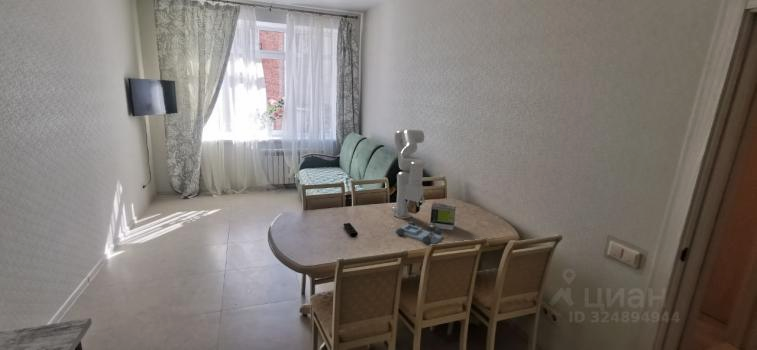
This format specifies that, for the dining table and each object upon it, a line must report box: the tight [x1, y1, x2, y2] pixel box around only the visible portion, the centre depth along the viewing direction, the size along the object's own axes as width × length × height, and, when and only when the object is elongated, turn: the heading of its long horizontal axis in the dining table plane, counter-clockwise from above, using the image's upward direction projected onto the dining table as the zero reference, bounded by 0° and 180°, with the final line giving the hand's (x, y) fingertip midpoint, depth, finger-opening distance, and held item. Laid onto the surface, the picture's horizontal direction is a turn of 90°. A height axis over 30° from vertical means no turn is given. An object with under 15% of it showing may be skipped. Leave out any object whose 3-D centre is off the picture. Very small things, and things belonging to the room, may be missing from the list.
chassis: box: [394, 220, 443, 245], centre depth 216 cm, size 26×16×4 cm, turn 56°
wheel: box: [426, 224, 437, 234], centre depth 211 cm, size 5×5×5 cm
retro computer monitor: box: [429, 201, 457, 231], centre depth 230 cm, size 15×10×15 cm, turn 74°
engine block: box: [408, 201, 419, 215], centre depth 215 cm, size 5×5×7 cm
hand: (413, 210), depth 215 cm, fingers closed on engine block, 5 cm apart
